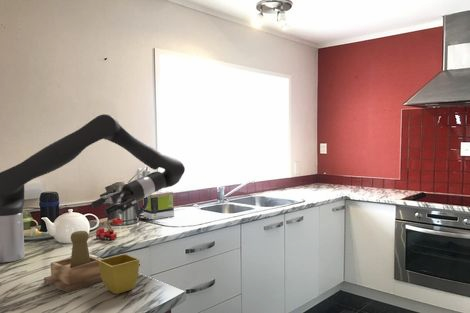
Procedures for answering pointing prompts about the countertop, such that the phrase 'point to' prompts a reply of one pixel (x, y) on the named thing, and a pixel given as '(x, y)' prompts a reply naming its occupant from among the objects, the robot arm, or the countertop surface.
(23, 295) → the countertop surface
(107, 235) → the toy fire truck
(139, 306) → the countertop surface
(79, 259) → the cork
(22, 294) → the countertop surface
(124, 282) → the flower pot
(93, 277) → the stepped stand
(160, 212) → the tea box
